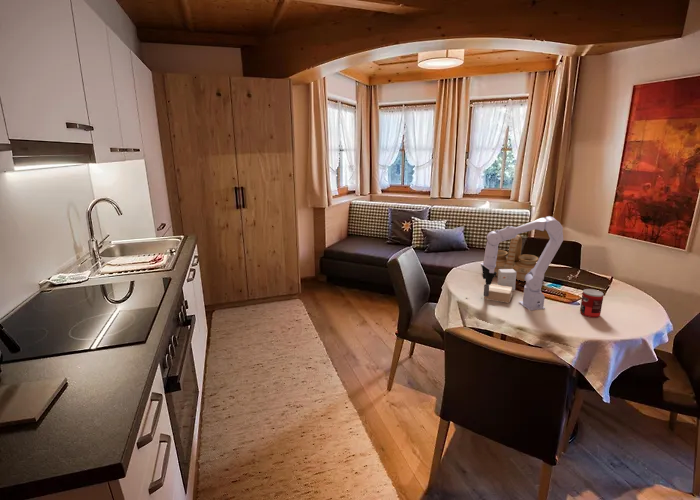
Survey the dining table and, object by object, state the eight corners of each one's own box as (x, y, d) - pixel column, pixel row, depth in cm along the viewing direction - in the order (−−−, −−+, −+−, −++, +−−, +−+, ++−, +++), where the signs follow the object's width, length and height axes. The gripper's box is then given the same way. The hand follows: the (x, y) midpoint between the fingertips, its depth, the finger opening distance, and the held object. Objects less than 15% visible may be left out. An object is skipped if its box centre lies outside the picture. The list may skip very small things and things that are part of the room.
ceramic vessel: (477, 274, 223) (480, 234, 216) (489, 266, 236) (491, 228, 229) (537, 286, 201) (542, 243, 194) (546, 277, 214) (551, 236, 207)
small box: (511, 286, 202) (513, 268, 199) (515, 290, 196) (516, 272, 193) (496, 286, 203) (498, 268, 200) (499, 290, 197) (501, 272, 194)
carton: (511, 295, 190) (512, 286, 188) (509, 302, 182) (510, 293, 181) (487, 292, 196) (488, 283, 194) (484, 298, 188) (484, 289, 187)
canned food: (581, 308, 173) (584, 287, 170) (601, 313, 168) (604, 291, 165) (578, 314, 167) (581, 292, 164) (599, 319, 162) (602, 296, 159)
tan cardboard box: (509, 302, 182) (510, 285, 179) (507, 306, 177) (509, 289, 175) (484, 298, 188) (485, 281, 185) (482, 302, 183) (483, 285, 180)
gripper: (479, 250, 185) (476, 275, 189) (484, 259, 171) (480, 286, 175) (494, 252, 184) (490, 276, 188) (500, 261, 170) (496, 287, 174)
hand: (486, 281), depth 181 cm, fingers open, 7 cm apart
